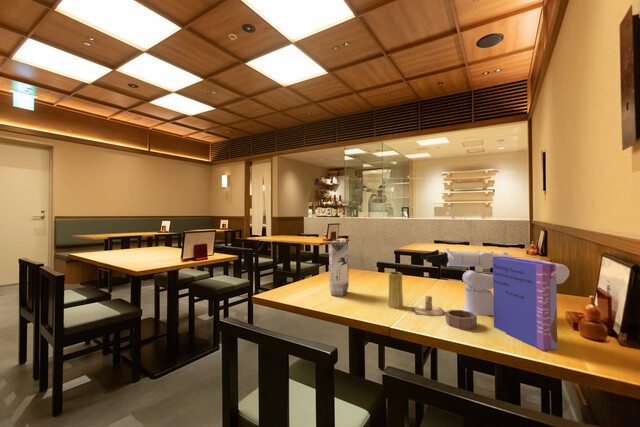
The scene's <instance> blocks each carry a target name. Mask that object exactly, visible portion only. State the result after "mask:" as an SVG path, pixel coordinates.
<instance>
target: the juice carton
mask: <svg viewBox="0 0 640 427" xmlns="http://www.w3.org/2000/svg"><path fill="white" fill-rule="evenodd" d="M328 252H329V257H328V258H329V259H328V262H329V265H328V266H329V267H328V269H329V270H328V272H329V275H328V276H329V277H328V279H329V292H330V295H331V296H335V297H337V296H340V297H346V296H347V293H348V289H349V286H350V285H349V283H350V282H349V277H350V276H349V274H350V273H349V271H350V270H349V268H350V267H349V266H350V265H349V244H348V240H347V239H345V238H340V239H339V240H332V241H331V242H329V251H328Z"/></svg>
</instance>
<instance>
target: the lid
mask: <svg viewBox="0 0 640 427" xmlns="http://www.w3.org/2000/svg"><path fill="white" fill-rule="evenodd" d="M424 300H425V304H424V305H416V306H413V307H414V311H415V312H417V313H420V314H423V315H422V316H433V317H435V316H436V317H437V316H438V315H442V314H444V311H445V310H444V309H443V308H442V307H441V308H442V309H441V308H439V306H435V305H433V297H432V296H431V295H425V299H424ZM414 311H413V312H414Z"/></svg>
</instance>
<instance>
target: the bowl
mask: <svg viewBox="0 0 640 427" xmlns="http://www.w3.org/2000/svg"><path fill="white" fill-rule="evenodd" d="M445 312H446V316H445V321H446V324H447V326H449V327H451V328H454V329H458V330H465V331H470V330H475V329H476V327H477V326H478V320H477V318H478V315H475V314H473V313H472V312H468V311H464V310H463V309H449V310H446V311H445Z"/></svg>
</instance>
